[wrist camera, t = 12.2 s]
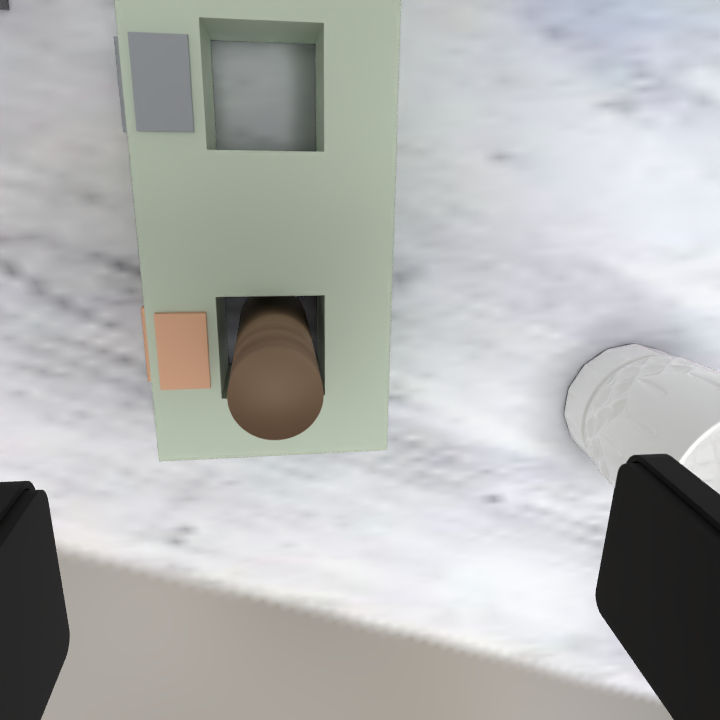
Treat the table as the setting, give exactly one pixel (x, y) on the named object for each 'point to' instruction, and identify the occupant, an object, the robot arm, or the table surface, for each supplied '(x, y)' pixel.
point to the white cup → (646, 411)
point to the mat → (4, 4)
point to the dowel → (274, 370)
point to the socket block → (262, 214)
